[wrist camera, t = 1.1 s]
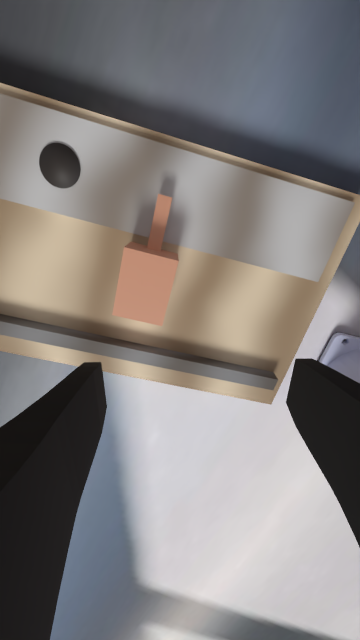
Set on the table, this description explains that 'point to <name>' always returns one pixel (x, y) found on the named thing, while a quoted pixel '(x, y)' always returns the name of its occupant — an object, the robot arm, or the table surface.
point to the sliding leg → (147, 273)
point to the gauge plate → (180, 237)
